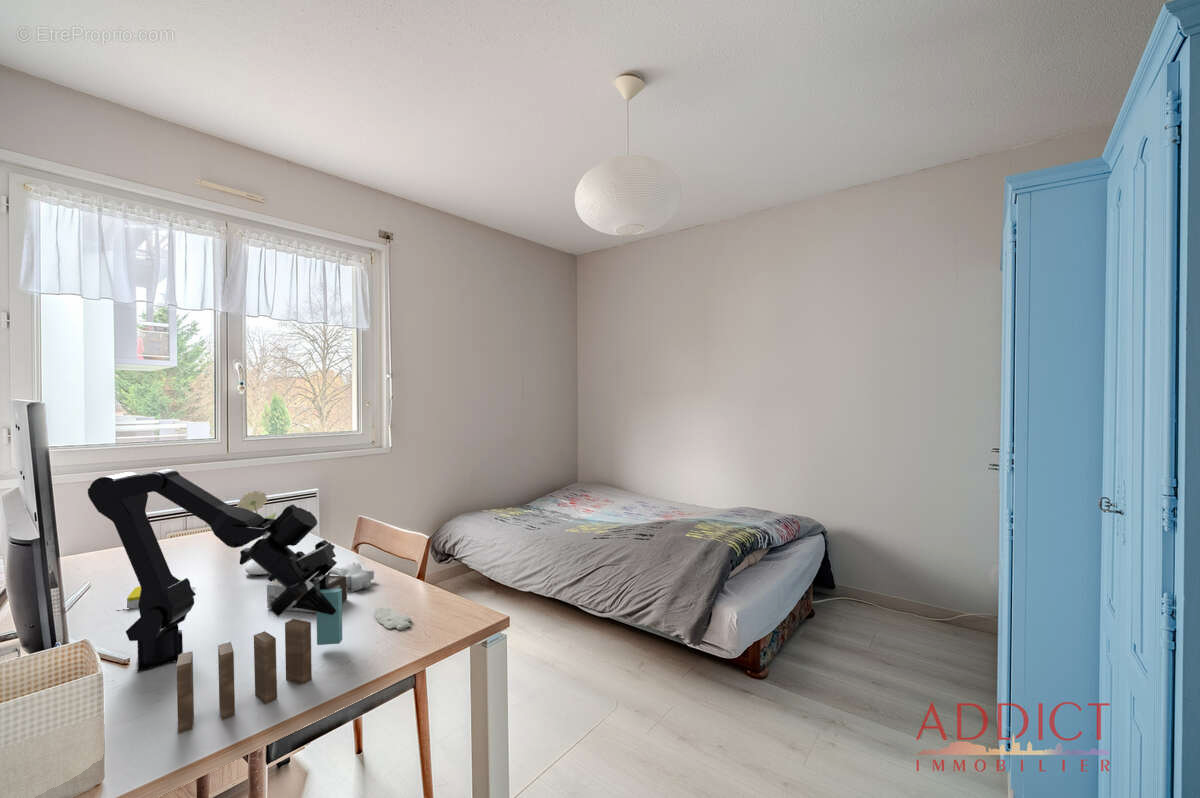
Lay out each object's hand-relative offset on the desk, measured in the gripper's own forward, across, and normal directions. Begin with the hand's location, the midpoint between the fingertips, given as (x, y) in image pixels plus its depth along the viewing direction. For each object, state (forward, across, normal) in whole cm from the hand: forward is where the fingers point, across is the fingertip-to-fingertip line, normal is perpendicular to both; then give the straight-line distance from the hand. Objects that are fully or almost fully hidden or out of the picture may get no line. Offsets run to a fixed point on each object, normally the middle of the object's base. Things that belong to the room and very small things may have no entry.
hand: (336, 610), depth 107 cm
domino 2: (-2, -20, +13) cm, 24 cm away
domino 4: (+4, -11, +8) cm, 14 cm away
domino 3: (+2, -16, +10) cm, 19 cm away
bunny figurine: (-1, +38, +13) cm, 40 cm away
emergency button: (-34, +34, +47) cm, 68 cm away
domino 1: (-5, -22, +17) cm, 28 cm away
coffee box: (-13, +27, +21) cm, 37 cm away
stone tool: (+12, +13, +1) cm, 17 cm away
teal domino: (+4, 0, +6) cm, 7 cm away
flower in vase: (-22, +51, +34) cm, 65 cm away
